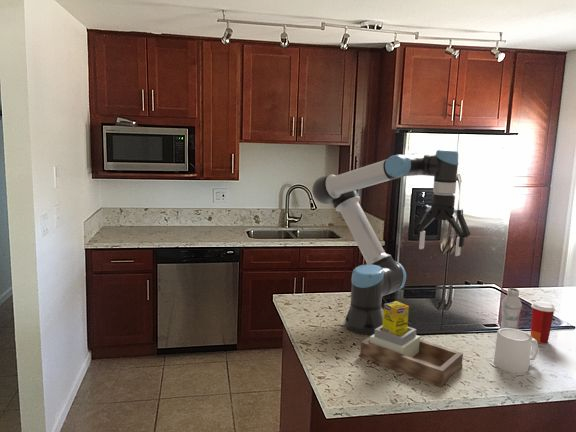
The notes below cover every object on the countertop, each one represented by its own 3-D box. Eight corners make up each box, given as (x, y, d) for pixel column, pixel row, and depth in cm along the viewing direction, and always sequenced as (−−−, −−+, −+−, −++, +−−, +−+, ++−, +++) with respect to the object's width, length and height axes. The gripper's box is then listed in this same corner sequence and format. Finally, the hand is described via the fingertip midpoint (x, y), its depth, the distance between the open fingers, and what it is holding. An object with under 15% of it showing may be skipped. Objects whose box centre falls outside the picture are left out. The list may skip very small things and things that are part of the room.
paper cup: (550, 338, 173) (554, 302, 171) (551, 346, 166) (556, 309, 164) (526, 334, 176) (530, 299, 174) (527, 342, 169) (531, 305, 167)
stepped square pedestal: (369, 352, 155) (370, 329, 154) (387, 341, 164) (388, 319, 163) (401, 364, 147) (403, 340, 146) (418, 352, 156) (420, 329, 155)
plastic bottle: (520, 347, 165) (526, 293, 162) (499, 345, 166) (505, 291, 163) (515, 339, 171) (521, 287, 168) (495, 337, 173) (501, 285, 169)
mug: (522, 355, 159) (525, 326, 157) (544, 370, 149) (548, 339, 147) (487, 359, 155) (490, 329, 154) (507, 374, 146) (511, 342, 144)
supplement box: (394, 341, 151) (396, 309, 149) (381, 334, 156) (383, 303, 154) (407, 337, 154) (409, 305, 152) (393, 330, 159) (396, 300, 157)
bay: (359, 356, 155) (360, 342, 154) (384, 340, 167) (385, 327, 167) (440, 387, 137) (441, 371, 136) (462, 367, 149) (463, 352, 149)
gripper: (483, 196, 160) (477, 256, 163) (416, 189, 176) (412, 244, 179) (475, 198, 154) (469, 260, 158) (406, 191, 170) (402, 247, 174)
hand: (439, 252), depth 169 cm, fingers open, 13 cm apart
